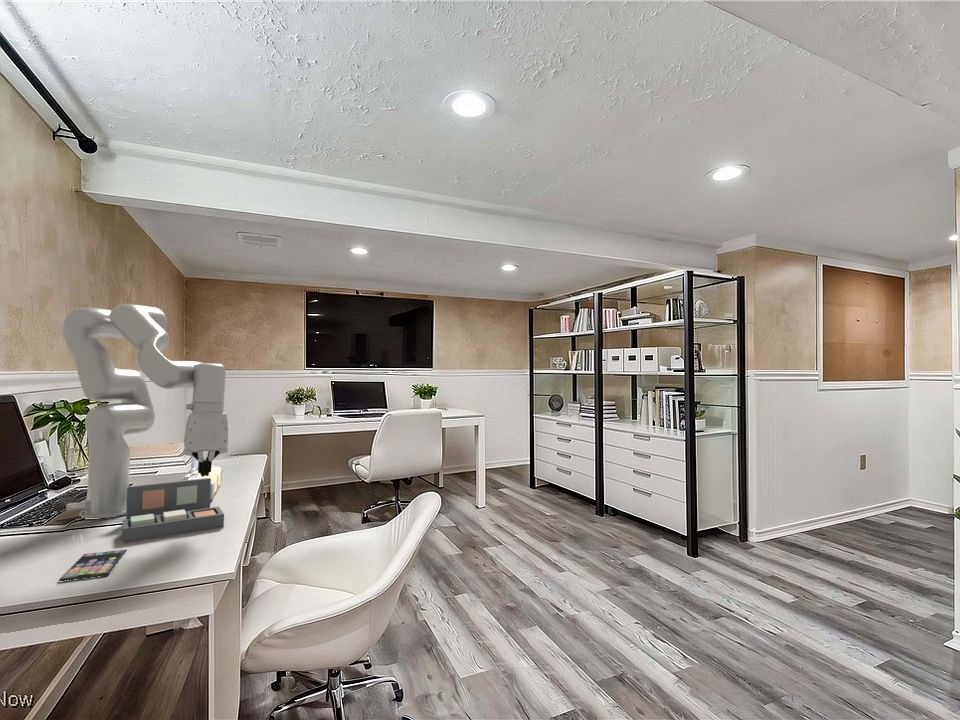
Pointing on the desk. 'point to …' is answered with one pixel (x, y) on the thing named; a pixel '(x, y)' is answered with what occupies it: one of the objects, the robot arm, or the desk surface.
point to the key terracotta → (203, 513)
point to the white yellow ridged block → (214, 475)
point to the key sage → (142, 520)
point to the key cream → (174, 515)
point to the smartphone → (93, 565)
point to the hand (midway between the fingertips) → (204, 475)
